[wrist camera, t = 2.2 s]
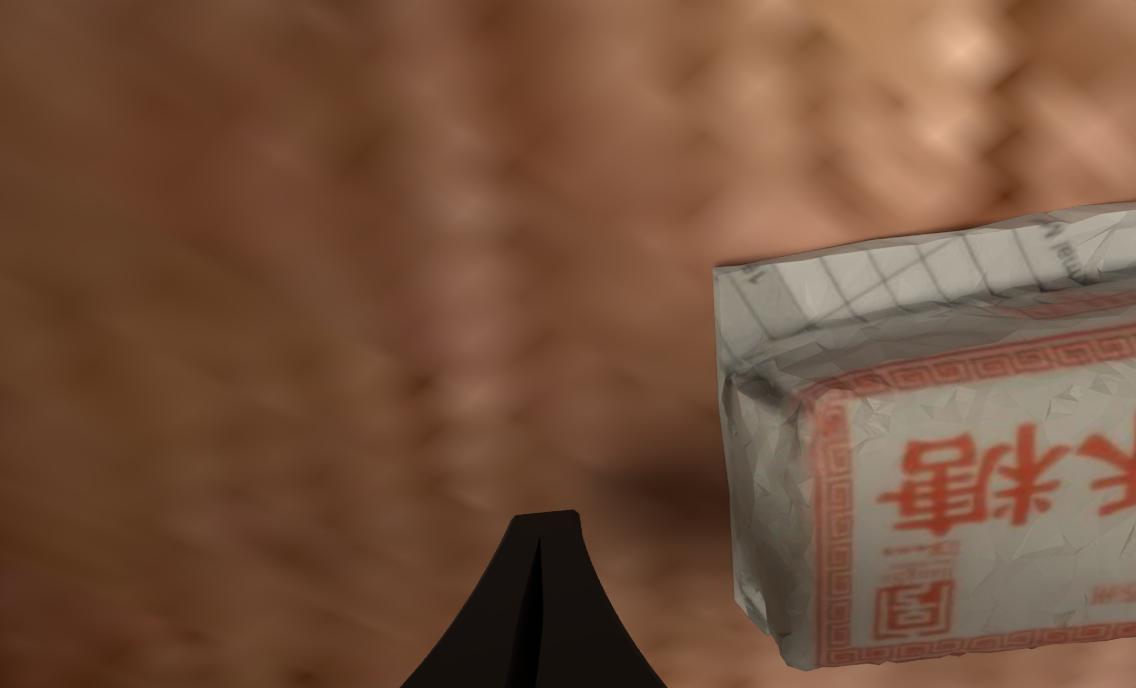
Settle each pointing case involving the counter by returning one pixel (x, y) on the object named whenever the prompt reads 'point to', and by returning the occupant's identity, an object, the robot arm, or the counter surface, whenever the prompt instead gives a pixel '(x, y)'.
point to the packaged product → (935, 439)
